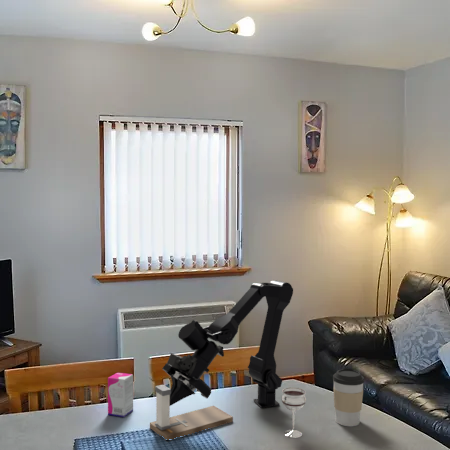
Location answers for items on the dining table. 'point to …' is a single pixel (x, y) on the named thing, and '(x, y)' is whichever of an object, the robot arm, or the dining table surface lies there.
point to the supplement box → (120, 394)
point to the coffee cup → (348, 396)
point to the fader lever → (162, 407)
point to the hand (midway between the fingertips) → (167, 404)
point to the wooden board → (193, 422)
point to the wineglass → (293, 406)
